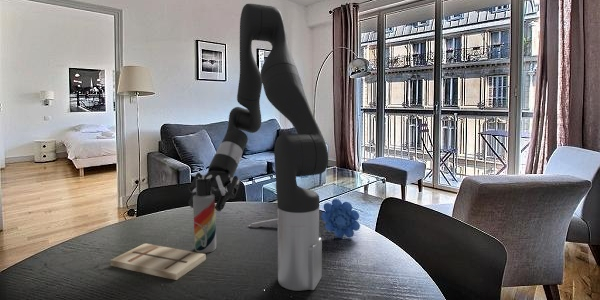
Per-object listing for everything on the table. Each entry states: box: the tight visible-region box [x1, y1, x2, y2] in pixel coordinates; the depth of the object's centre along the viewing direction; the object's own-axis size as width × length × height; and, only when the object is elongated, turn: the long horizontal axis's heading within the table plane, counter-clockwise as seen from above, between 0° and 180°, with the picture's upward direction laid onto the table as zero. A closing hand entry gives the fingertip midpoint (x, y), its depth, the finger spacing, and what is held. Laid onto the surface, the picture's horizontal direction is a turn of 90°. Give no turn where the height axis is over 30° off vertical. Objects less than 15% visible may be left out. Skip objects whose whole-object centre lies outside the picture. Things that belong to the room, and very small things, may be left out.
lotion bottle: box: [192, 178, 217, 254], centre depth 92 cm, size 6×6×20 cm
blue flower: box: [320, 198, 361, 239], centre depth 100 cm, size 12×7×12 cm, turn 83°
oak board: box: [110, 242, 207, 281], centre depth 85 cm, size 20×11×2 cm, turn 70°
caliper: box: [247, 218, 278, 228], centre depth 110 cm, size 20×1×6 cm, turn 89°
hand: (204, 208), depth 92 cm, fingers open, 8 cm apart
